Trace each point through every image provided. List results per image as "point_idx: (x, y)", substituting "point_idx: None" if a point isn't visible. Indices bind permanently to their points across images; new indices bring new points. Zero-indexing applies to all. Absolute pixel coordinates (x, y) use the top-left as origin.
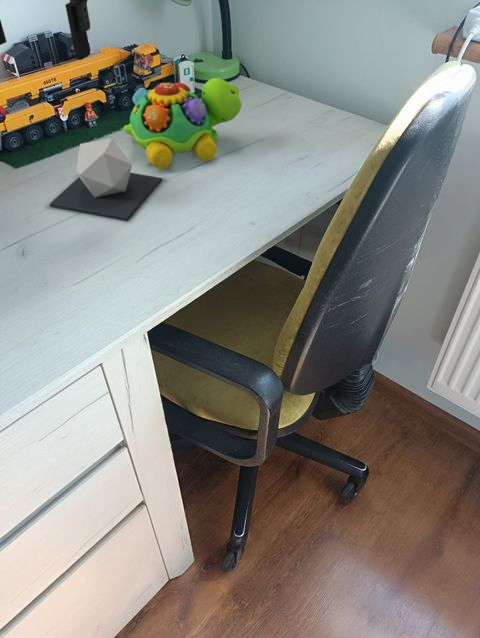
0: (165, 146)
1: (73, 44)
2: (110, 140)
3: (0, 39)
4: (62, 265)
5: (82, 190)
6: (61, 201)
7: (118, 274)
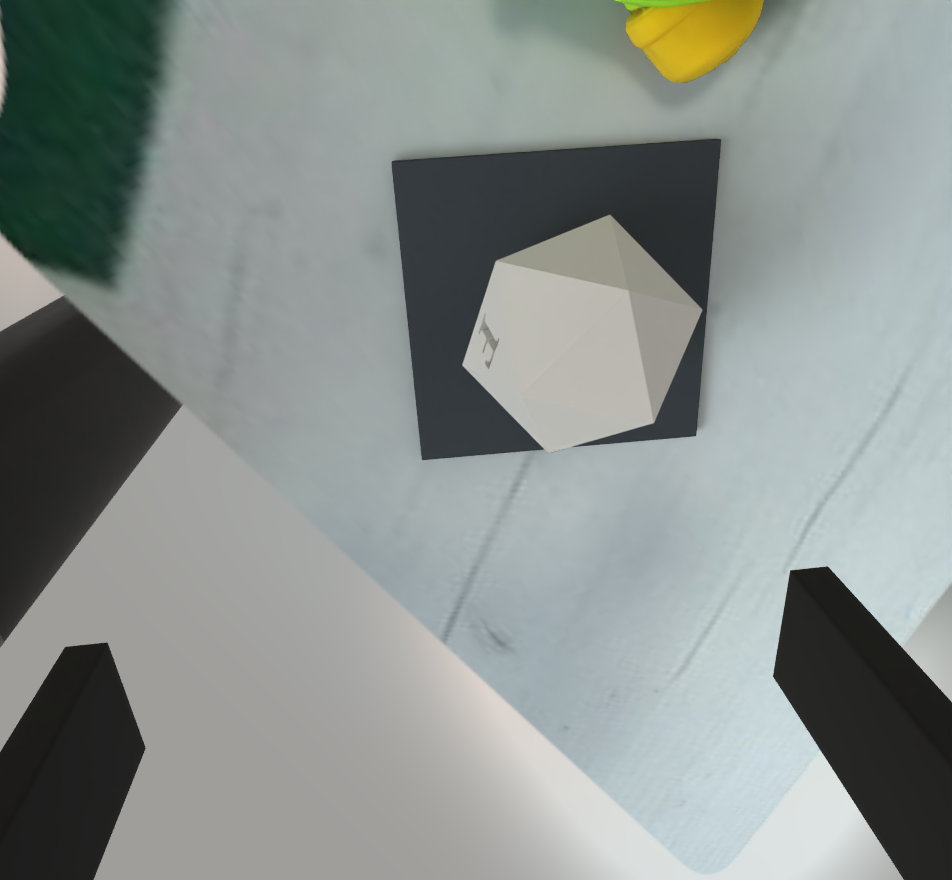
0: (750, 7)
1: (820, 746)
2: (629, 312)
3: (115, 717)
4: (615, 641)
5: None
6: (449, 433)
7: (757, 620)
